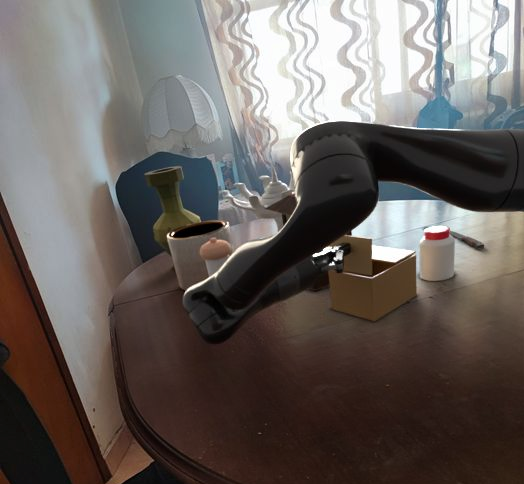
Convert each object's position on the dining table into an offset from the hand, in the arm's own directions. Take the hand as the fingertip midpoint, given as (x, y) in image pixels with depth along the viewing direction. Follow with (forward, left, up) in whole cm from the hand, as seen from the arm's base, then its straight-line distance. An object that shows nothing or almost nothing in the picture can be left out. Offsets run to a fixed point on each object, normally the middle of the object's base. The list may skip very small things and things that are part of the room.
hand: (347, 247), depth 93 cm
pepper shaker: (+28, -9, -15) cm, 33 cm away
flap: (0, 0, -1) cm, 1 cm away
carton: (-6, -5, -15) cm, 17 cm away
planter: (+35, -36, -15) cm, 53 cm away
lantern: (0, -27, -15) cm, 31 cm away
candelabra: (+12, -57, -15) cm, 60 cm away
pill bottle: (-23, -15, -15) cm, 31 cm away
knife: (-35, -41, -15) cm, 56 cm away
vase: (+45, -57, -15) cm, 74 cm away
